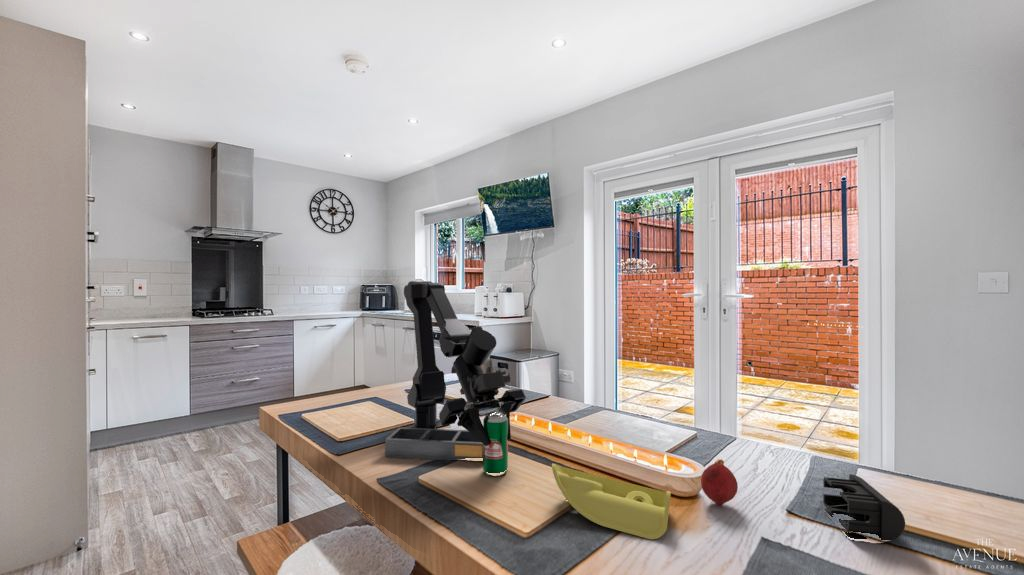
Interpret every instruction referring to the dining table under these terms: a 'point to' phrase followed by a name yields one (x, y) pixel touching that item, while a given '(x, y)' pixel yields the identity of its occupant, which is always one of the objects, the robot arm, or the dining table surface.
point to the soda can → (495, 442)
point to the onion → (719, 483)
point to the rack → (433, 444)
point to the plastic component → (615, 502)
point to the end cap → (863, 509)
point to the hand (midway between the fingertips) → (498, 442)
